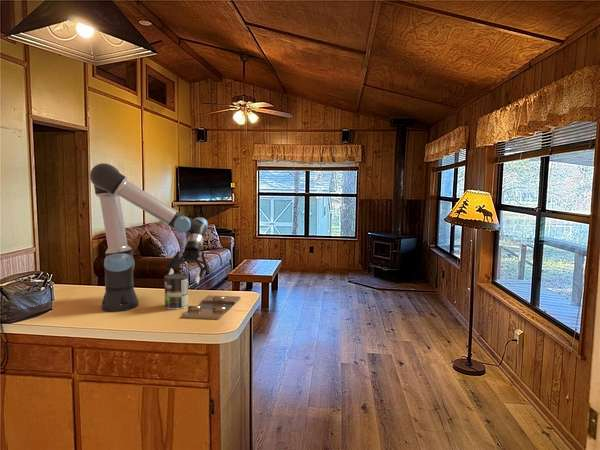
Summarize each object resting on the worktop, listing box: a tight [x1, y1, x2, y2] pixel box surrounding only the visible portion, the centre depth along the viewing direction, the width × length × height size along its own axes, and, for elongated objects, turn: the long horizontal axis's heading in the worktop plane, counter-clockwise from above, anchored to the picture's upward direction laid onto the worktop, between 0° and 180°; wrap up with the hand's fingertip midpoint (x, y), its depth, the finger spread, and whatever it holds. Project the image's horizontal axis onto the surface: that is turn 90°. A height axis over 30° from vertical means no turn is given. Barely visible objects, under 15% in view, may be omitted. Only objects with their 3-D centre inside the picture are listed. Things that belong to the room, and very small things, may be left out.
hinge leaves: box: [181, 294, 241, 320], centre depth 178 cm, size 16×31×3 cm, turn 172°
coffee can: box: [163, 273, 189, 311], centre depth 180 cm, size 10×10×14 cm
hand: (182, 282), depth 183 cm, fingers open, 13 cm apart
